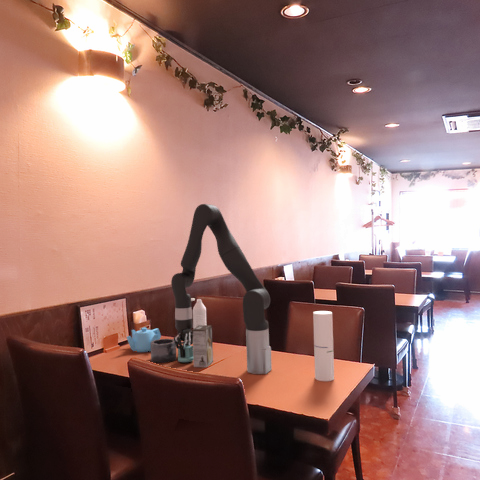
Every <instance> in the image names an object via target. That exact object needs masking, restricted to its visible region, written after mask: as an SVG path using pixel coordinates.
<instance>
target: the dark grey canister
mask: <svg viewBox="0 0 480 480" xmlns="http://www.w3.org/2000/svg"><path fill="white" fill-rule="evenodd" d="M176 360H177V347H176V344H175V341H174V338H160V339H159V340H154V341H152V342H151V351H150V362H151V363H155V364H165V363H167V364H168V363H172V362H175V361H176ZM156 362H157V363H156Z"/></svg>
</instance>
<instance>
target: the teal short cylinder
mask: <svg viewBox="0 0 480 480" xmlns="http://www.w3.org/2000/svg"><path fill="white" fill-rule="evenodd" d="M182 346H183V344H182ZM177 362H179V363H189V362H190V363H191V362H194V361H193V345H191V346H186V345H185V358H181V357H180V349H177Z"/></svg>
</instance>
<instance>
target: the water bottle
mask: <svg viewBox="0 0 480 480" xmlns="http://www.w3.org/2000/svg"><path fill="white" fill-rule="evenodd" d="M195 300H196V303H195V304H194V306H193V309H192V323H193V327H192V328H193V329H194V328H196V327H197V326H198V325H208V324H207V307H206V306H205V305H204V303H203V300H202V299H201V298H197V299H196V298H194V297H191V302H193V301H194V302H195ZM193 329H192V330H193Z"/></svg>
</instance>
